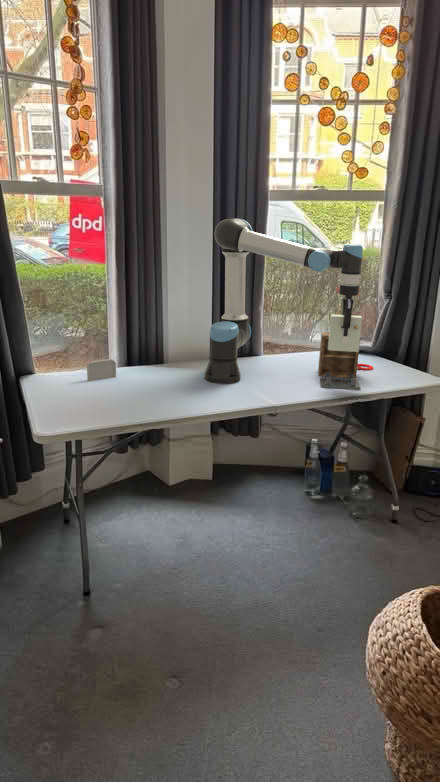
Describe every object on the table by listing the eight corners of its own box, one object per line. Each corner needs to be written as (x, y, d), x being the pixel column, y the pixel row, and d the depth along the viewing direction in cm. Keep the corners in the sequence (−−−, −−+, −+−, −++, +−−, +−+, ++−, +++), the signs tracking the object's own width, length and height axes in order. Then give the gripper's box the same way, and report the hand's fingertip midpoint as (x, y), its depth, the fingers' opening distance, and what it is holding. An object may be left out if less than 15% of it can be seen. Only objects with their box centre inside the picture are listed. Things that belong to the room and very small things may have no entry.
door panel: (328, 350, 231) (331, 316, 227) (327, 347, 236) (331, 314, 232) (358, 352, 230) (362, 318, 226) (357, 349, 235) (361, 315, 230)
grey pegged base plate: (320, 387, 234) (321, 377, 233) (319, 380, 244) (320, 371, 242) (360, 389, 232) (361, 380, 231) (357, 382, 242) (358, 373, 241)
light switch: (116, 377, 239) (115, 359, 236) (89, 381, 232) (88, 362, 230) (114, 376, 240) (114, 358, 238) (87, 380, 234) (86, 361, 231)
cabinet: (318, 375, 250) (322, 335, 245) (318, 370, 258) (321, 331, 252) (355, 378, 249) (360, 337, 243) (354, 373, 256) (358, 333, 250)
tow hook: (369, 366, 270) (350, 365, 269) (373, 339, 266) (354, 338, 265) (375, 371, 262) (355, 370, 261) (380, 344, 258) (360, 343, 257)
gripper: (361, 288, 217) (355, 347, 224) (356, 282, 233) (351, 338, 240) (341, 287, 217) (335, 346, 225) (338, 281, 234) (333, 337, 241)
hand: (343, 342), depth 232 cm, fingers closed on door panel, 4 cm apart
